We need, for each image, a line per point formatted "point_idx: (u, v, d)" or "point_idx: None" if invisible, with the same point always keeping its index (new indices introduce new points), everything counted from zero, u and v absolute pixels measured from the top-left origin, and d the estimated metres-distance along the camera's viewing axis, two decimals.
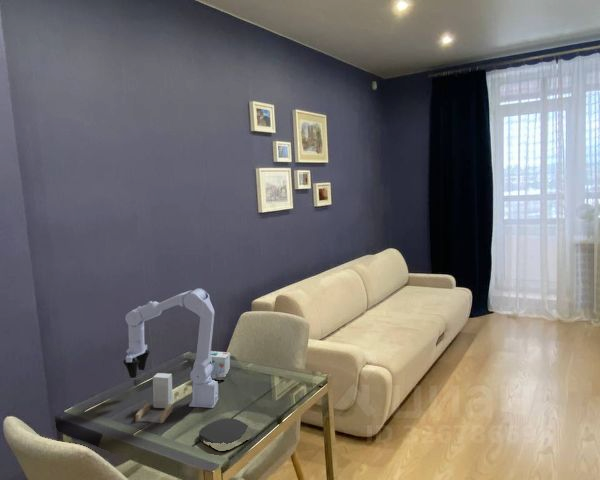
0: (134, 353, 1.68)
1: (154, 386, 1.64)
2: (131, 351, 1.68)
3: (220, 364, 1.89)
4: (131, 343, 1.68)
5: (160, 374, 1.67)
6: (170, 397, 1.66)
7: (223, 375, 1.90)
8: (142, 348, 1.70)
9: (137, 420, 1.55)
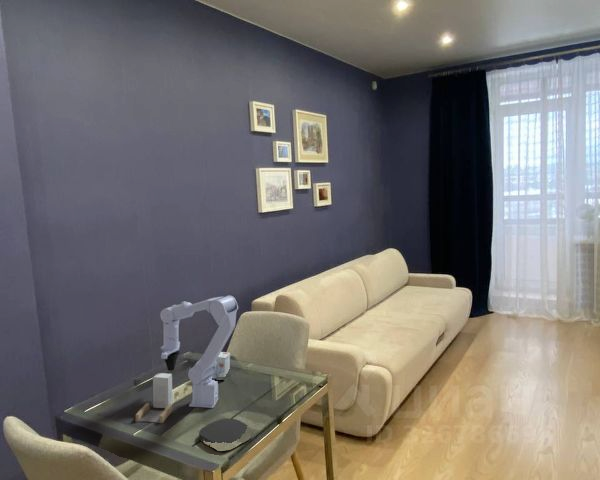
0: (169, 350, 1.71)
1: (154, 386, 1.64)
2: (166, 348, 1.71)
3: (220, 364, 1.89)
4: (166, 340, 1.71)
5: (160, 374, 1.67)
6: (170, 397, 1.66)
7: (223, 375, 1.90)
8: (176, 345, 1.73)
9: (137, 420, 1.55)
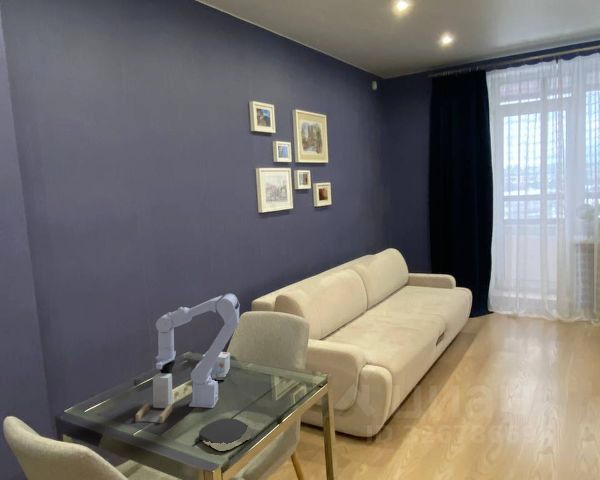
0: (164, 360, 1.66)
1: (154, 386, 1.64)
2: (161, 358, 1.66)
3: (220, 364, 1.89)
4: (161, 350, 1.66)
5: (160, 374, 1.67)
6: (170, 397, 1.66)
7: (223, 375, 1.90)
8: (172, 355, 1.68)
9: (137, 420, 1.55)
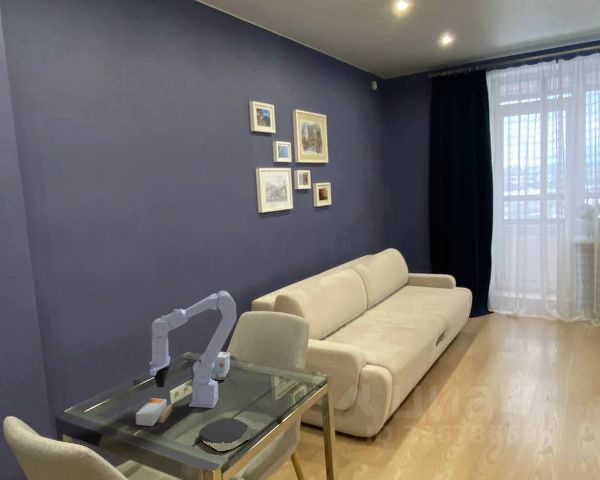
0: (158, 365, 1.60)
1: None
2: (155, 363, 1.61)
3: (220, 364, 1.89)
4: (155, 355, 1.60)
5: (141, 417, 1.51)
6: (162, 408, 1.60)
7: (223, 375, 1.90)
8: (166, 360, 1.62)
9: None
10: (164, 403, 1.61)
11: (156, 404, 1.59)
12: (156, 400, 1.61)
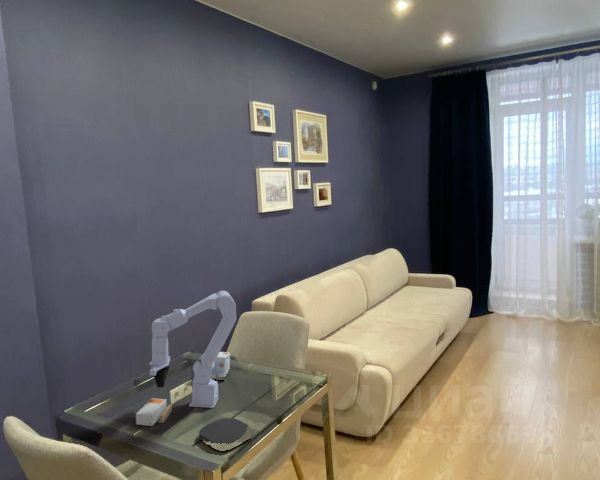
0: (158, 365, 1.60)
1: None
2: (155, 363, 1.61)
3: (220, 364, 1.89)
4: (155, 355, 1.60)
5: (141, 417, 1.51)
6: (162, 408, 1.60)
7: (223, 375, 1.90)
8: (166, 360, 1.62)
9: None
10: (164, 403, 1.61)
11: (156, 404, 1.59)
12: (156, 400, 1.61)
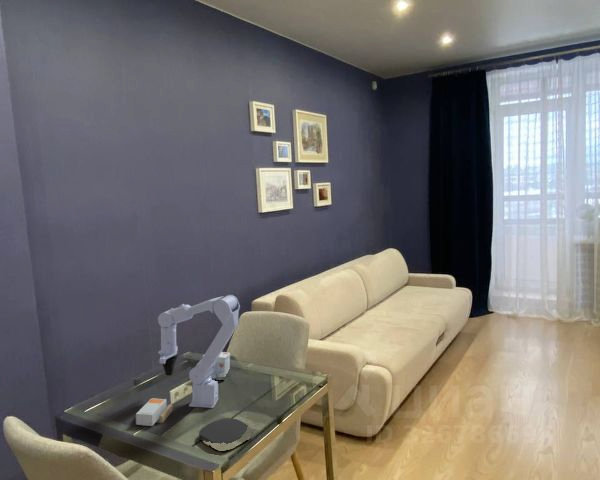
0: (167, 354, 1.69)
1: None
2: (164, 352, 1.69)
3: (220, 364, 1.89)
4: (164, 344, 1.69)
5: (141, 417, 1.51)
6: (162, 408, 1.60)
7: (223, 375, 1.90)
8: (174, 349, 1.70)
9: None
10: (164, 403, 1.61)
11: (156, 404, 1.59)
12: (156, 400, 1.61)
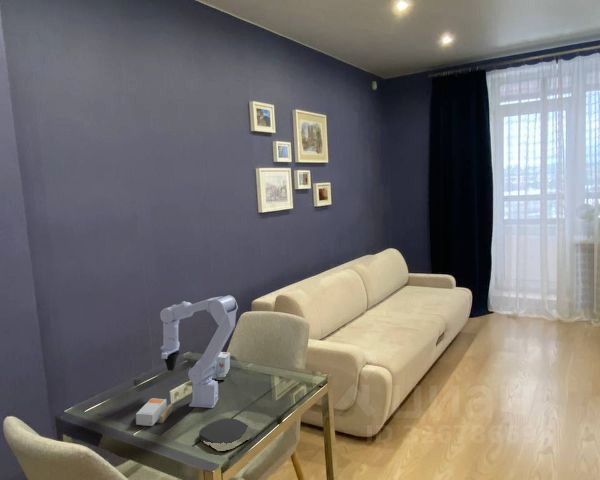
0: (169, 350, 1.71)
1: None
2: (166, 348, 1.71)
3: (220, 364, 1.89)
4: (166, 340, 1.71)
5: (141, 417, 1.51)
6: (162, 408, 1.60)
7: (223, 375, 1.90)
8: (176, 345, 1.73)
9: None
10: (164, 403, 1.61)
11: (156, 404, 1.59)
12: (156, 400, 1.61)
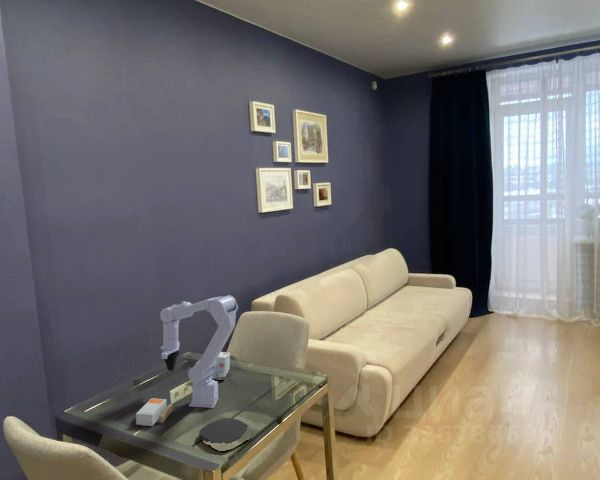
0: (169, 350, 1.71)
1: None
2: (166, 348, 1.71)
3: (220, 364, 1.89)
4: (166, 340, 1.71)
5: (141, 417, 1.51)
6: (162, 408, 1.60)
7: (223, 375, 1.90)
8: (176, 345, 1.73)
9: None
10: (164, 403, 1.61)
11: (156, 404, 1.59)
12: (156, 400, 1.61)
